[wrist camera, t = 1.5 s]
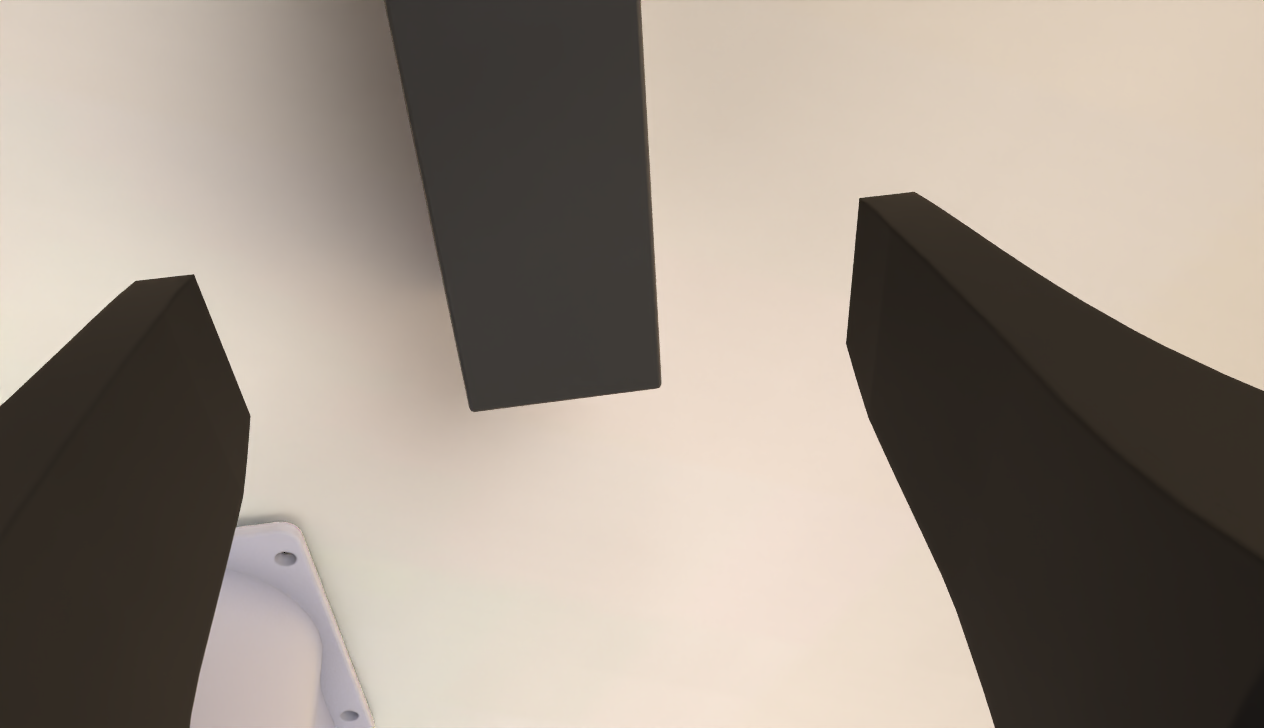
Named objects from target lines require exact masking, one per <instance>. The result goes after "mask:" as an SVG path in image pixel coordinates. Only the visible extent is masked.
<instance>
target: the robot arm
mask: <svg viewBox="0 0 1264 728" xmlns="http://www.w3.org/2000/svg"><path fill="white" fill-rule="evenodd" d="M846 345H847V348H848V352H849V355H850V359H851V362H852V366H853V369H854V372H855V376H856V379H857V383H858V386H859V389H860V392H861V396H862V399H863V402H864V405H865V408H866V411H867V414H868V418H869V420H870V422H871V424H872V426H873V429H874V431H875V433H876V435H877V438H878V440H879V442H880V444H881V446H882V449H883V451H884V453H885V455H886V457H887V459H888V462H889V464H890V466H891V468H892V470H893V472H894V475H895V477H896V479H897V481H898V483H899V485H900V487H901V489H902V492H903V494H904V496H905V498H906V500H907V502H908V504H909V506H910V509H911V511H912V513H913V515H914V517H915V519H916V521H917V523H918V526H919V528H920V530H921V532H922V534H923V536H924V538H925V541H926V543H927V545H928V547H929V549H930V551H931V553H932V555H933V558H934V560H935V562H936V564H937V566H938V568H939V570H940V572H941V575H942V577H943V579H944V582H945V584H946V587H947V589H948V592H949V594H950V596H951V599H952V601H953V604H954V606H955V609H956V611H957V614H958V617H959V620H960V623H961V626H962V629H963V632H964V635H965V638H966V641H967V643H968V646H969V649H970V652H971V655H972V658H973V661H974V664H975V667H976V670H977V673H978V676H979V679H980V682H981V685H982V688H983V691H984V694H985V697H986V700H987V704H988V707H989V710H990V713H991V716H992V719H993V723H994V726H995V728H1264V391H1262V390H1260V389H1258V388H1255V387H1253V386H1250V385H1248V384H1246V383H1243V382H1241V381H1239V380H1236V379H1234V378H1232V377H1229V376H1227V375H1225V374H1223V373H1220V372H1218V371H1216V370H1214V369H1212V368H1210V367H1208V366H1206V365H1203V364H1201V363H1199V362H1197V361H1195V360H1193V359H1191V358H1189V357H1186V356H1184V355H1182V354H1180V353H1178V352H1176V351H1174V350H1172V349H1169V348H1167V347H1165V346H1163V345H1161V344H1159V343H1157V342H1156V341H1154V340H1152V339H1150V338H1148V337H1146V336H1144V335H1142V334H1140V333H1138V332H1136V331H1134V330H1133V329H1131V328H1129V327H1127V326H1125V325H1124V324H1122V323H1120V322H1118V321H1117V320H1115V319H1113V318H1111V317H1110V316H1108V315H1106V314H1104V313H1103V312H1101V311H1099V310H1097V309H1095V308H1094V307H1092V306H1090V305H1088V304H1087V303H1085V302H1083V301H1082V300H1080V299H1078V298H1077V297H1075V296H1073V295H1072V294H1070V293H1068V292H1067V291H1065V290H1064V289H1062V288H1060V287H1059V286H1057V285H1055V284H1054V283H1052V282H1051V281H1049V280H1047V279H1046V278H1044V277H1043V276H1041V275H1040V274H1038V273H1036V272H1035V271H1033V270H1032V269H1030V268H1029V267H1027V266H1026V265H1024V264H1023V263H1021V262H1020V261H1018V260H1017V259H1015V258H1014V257H1012V256H1011V255H1009V254H1008V253H1006V252H1005V251H1003V250H1002V249H1000V248H999V247H997V246H996V245H994V244H993V243H991V242H990V241H988V240H987V239H985V238H984V237H982V236H981V235H979V234H978V233H976V232H975V231H974V230H972V229H971V228H969V227H968V226H966V225H965V224H963V223H962V222H960V221H959V220H957V219H956V218H954V217H953V216H951V215H950V214H948V213H947V212H946V211H944V210H942V209H941V208H939V207H938V206H936V205H935V204H933V203H932V202H930V201H929V200H927V199H925V198H924V197H922V196H920V195H919V194H917V193H915V192H909V193H900V194H892V195H883V196H874V197H865V198H859V209H858V220H857V231H856V242H855V253H854V264H853V274H852V285H851V296H850V307H849V318H848V329H847V340H846ZM249 428H250V414H249V411H248V409H247V406H246V404H245V401H244V399H243V396H242V394H241V391H240V389H239V386H238V384H237V381H236V379H235V376H234V374H233V371H232V369H231V366H230V364H229V361H228V359H227V356H226V354H225V351H224V349H223V346H222V344H221V341H220V339H219V336H218V334H217V331H216V329H215V326H214V324H213V321H212V319H211V316H210V314H209V311H208V309H207V306H206V304H205V301H204V299H203V296H202V294H201V291H200V289H199V286H198V284H197V281H196V279H195V276H194V274H193V275H184V276H175V277H167V278H158V279H149V280H141V281H135V282H134V283H133V284H132V285H130V286H129V287H128V288H127V289H125V290H124V291H123V292H122V293H121V294H119V295H118V296H117V297H116V298H115V299H114V300H113V301H112V302H111V303H109V304H108V305H107V306H106V307H105V308H104V309H103V310H102V311H101V312H100V313H99V314H98V315H97V316H95V317H94V318H93V319H92V320H91V321H90V322H89V323H88V324H87V325H86V326H85V327H84V328H83V329H82V330H81V331H80V332H79V333H78V334H77V335H76V336H74V337H73V338H72V339H71V340H70V341H69V342H68V343H67V344H66V345H65V346H64V347H63V348H62V349H61V350H60V351H59V352H58V353H57V354H56V355H55V356H53V357H52V358H51V359H50V360H49V361H48V362H47V363H46V364H45V365H44V366H43V367H42V368H41V369H40V370H39V371H38V372H36V373H35V374H34V375H33V376H32V377H31V378H30V379H29V380H28V381H27V382H26V383H25V384H24V385H23V386H22V387H21V388H19V389H18V390H17V391H16V392H15V393H14V394H13V395H12V396H11V397H10V398H9V399H8V400H7V401H6V402H4V403H3V404H2V405H1V406H0V728H375V722H374V719H373V717H372V714H371V712H370V709H369V706H368V704H367V701H366V698H365V696H364V693H363V691H362V688H361V685H360V683H359V680H358V677H357V675H356V672H355V670H354V667H353V664H352V662H351V659H350V656H349V654H348V651H347V649H346V646H345V643H344V641H343V638H342V636H341V633H340V630H339V628H338V625H337V622H336V620H335V617H334V615H333V612H332V609H331V607H330V604H329V601H328V599H327V596H326V594H325V591H324V588H323V586H322V583H321V581H320V578H319V575H318V573H317V570H316V567H315V565H314V562H313V560H312V557H311V554H310V552H309V549H308V546H307V544H306V541H305V539H304V536H303V533H302V532H301V530H300V529H299V527H297V526H295V525H294V524H292V523H288V522H270V523H263V524H255V525H248V526H240V527H236V525H237V521H238V516H239V512H240V508H241V503H242V499H243V493H244V484H245V474H246V465H247V454H248V441H249ZM281 552H289V553H292V554H284V553H281Z"/></svg>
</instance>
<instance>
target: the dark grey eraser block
mask: <svg viewBox="0 0 1264 728" xmlns="http://www.w3.org/2000/svg"><path fill="white" fill-rule="evenodd" d="M384 3H385V8H386V12H387V17H388V22H389V27H390V31H391V36H392V41H393V46H394V51H395V55H396V60H397V65H398V70H399V74H400V79H401V84H402V89H403V94H404V98H405V103H406V108H407V113H408V117H409V122H410V127H411V132H412V137H413V141H414V146H415V151H416V156H417V160H418V165H419V170H420V175H421V179H422V184H423V189H424V194H425V199H426V203H427V208H428V213H429V218H430V222H431V227H432V232H433V237H434V242H435V246H436V251H437V256H438V261H439V265H440V270H441V275H442V280H443V285H444V289H445V294H446V299H447V304H448V308H449V313H450V318H451V323H452V328H453V332H454V337H455V342H456V347H457V351H458V356H459V361H460V366H461V371H462V375H463V380H464V385H465V390H466V394H467V399H468V404H469V408H470V410H471V411H473V412H477V411H485V410H492V409H500V408H508V407H516V406H524V405H531V404H539V403H547V402H555V401H563V400H570V399H578V398H586V397H594V396H602V395H609V394H617V393H625V392H633V391H641V390H648V389H656V388H659V387H660V386H661V365H660V346H659V328H658V310H657V291H656V273H655V255H654V237H653V218H652V200H651V182H650V163H649V145H648V127H647V108H646V90H645V72H644V54H643V35H642V17H641V0H384Z"/></svg>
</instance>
